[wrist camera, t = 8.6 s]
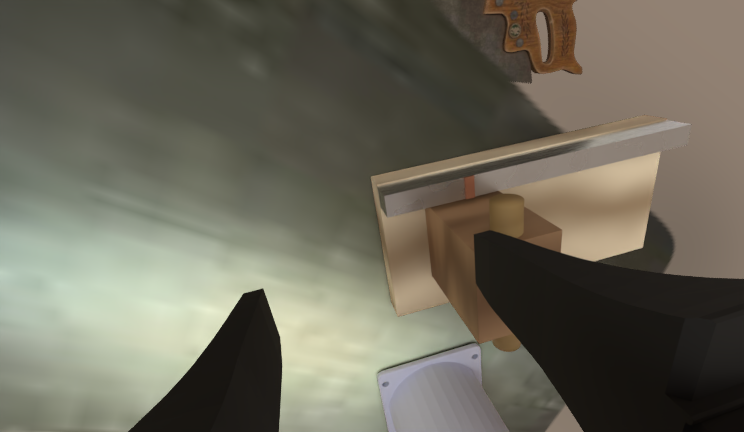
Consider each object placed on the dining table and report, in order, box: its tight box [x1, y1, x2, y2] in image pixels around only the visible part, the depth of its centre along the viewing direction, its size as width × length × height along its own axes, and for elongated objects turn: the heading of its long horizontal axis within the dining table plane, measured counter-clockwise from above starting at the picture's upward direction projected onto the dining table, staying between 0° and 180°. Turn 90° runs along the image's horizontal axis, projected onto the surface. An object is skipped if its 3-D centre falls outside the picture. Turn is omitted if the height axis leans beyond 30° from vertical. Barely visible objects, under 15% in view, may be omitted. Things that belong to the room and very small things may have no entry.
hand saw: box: [431, 0, 582, 84], centre depth 18 cm, size 24×5×1 cm, turn 93°
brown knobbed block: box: [425, 191, 562, 352], centre depth 19 cm, size 8×4×6 cm, turn 9°
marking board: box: [371, 115, 691, 317], centre depth 22 cm, size 9×18×3 cm, turn 99°
